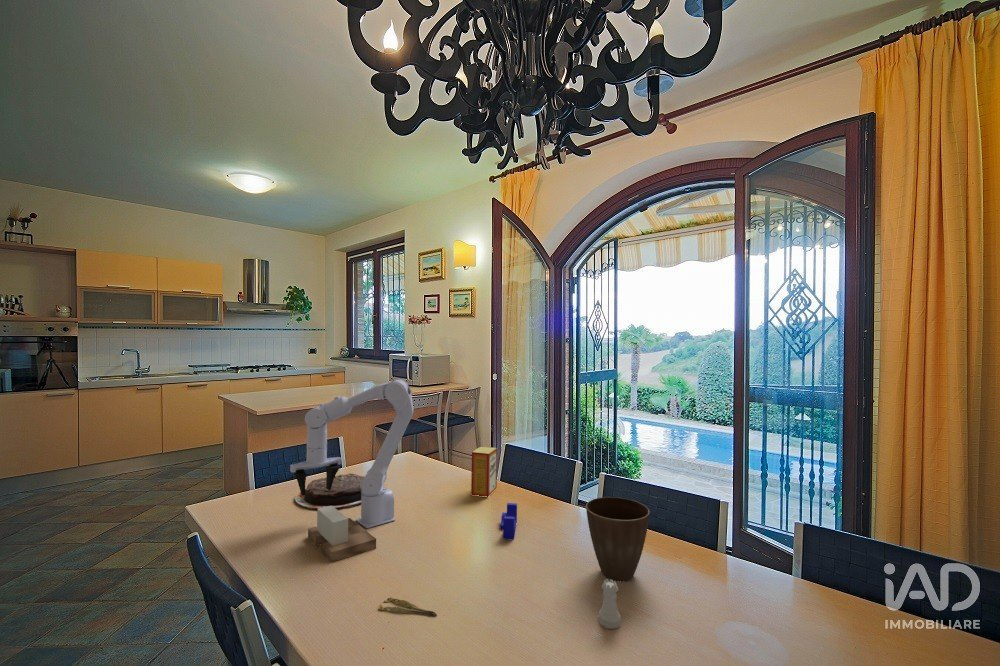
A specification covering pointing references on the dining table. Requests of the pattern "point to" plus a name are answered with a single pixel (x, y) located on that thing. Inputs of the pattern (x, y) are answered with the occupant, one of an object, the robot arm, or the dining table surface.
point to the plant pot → (617, 535)
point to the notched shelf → (356, 542)
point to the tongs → (407, 604)
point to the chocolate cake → (332, 493)
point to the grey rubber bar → (332, 525)
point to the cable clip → (509, 521)
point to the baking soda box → (484, 471)
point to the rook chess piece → (609, 606)
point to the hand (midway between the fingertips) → (316, 491)
